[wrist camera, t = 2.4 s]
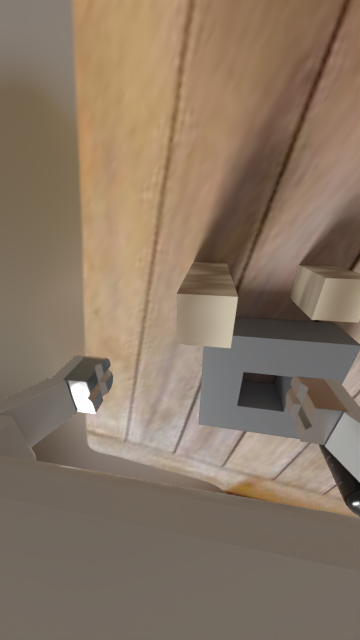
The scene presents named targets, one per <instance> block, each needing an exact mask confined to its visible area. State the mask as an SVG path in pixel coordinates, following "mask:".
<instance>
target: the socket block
mask: <svg viewBox="0 0 360 640" xmlns="http://www.w3.org/2000/svg"><path fill="white" fill-rule="evenodd" d="M359 350H360V344H359V343H358V342H356V341H355V340H354V339H353V338H352V337H350V336H349V335H348V334H347V333H346V332H344V331H343V330H342V329H341V328H340V327H338V326H337V325H336V324H335V323H321V322H305V321H290V320H275V319H260V318H245V317H235V322H234V329H233V336H232V343H231V348H220V347H209V346H204V353H203V367H202V382H201V397H200V411H199V425H206V426H213V427H220V428H227V429H234V430H241V431H248V432H255V433H262V434H268V435H275V436H282V437H289V438H296V439H299V437H298V434H297V432H296V430H295V427H294V422H295V419H294V418H293V417H291V416H290V415H289V413H288V410H287V406H286V395H287V392H288V391H289V390H290V389H292V385H291V380H292V378H293V377H294V376H298V377H309V378H320V379H321V378H324V379H335V380H337V381H339V382H340V384H341V385H342V383H343V381H344V379H345V377H346V376H347V374H348V372H349V370H350V368H351V366H352V364H353V362H354V360H355V358H356V356H357V354H358V352H359ZM243 372H249V373H259V374H268V375H276V377H275V380H274V383H273V384H269V383H260V382H251V381H242V377H243Z"/></svg>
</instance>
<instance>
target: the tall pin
mask: <svg viewBox="0 0 360 640" xmlns="http://www.w3.org/2000/svg"><path fill="white" fill-rule="evenodd" d="M237 301H238V295H237V292H236V289H235V286H234V283H233V280H232V277H231V274H230V271H229V268H228V265H227V263H212V262H193V264H192V266H191V267H190V269H189V271H188V273H187V275H186V277H185V279H184V281H183V283H182V285H181V286H180V288H179V290H178V292H177V344H186V345H198V346H209V347H220V348H231V343H232V336H233V329H234V322H235V315H236V308H237Z"/></svg>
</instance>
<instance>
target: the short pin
mask: <svg viewBox="0 0 360 640" xmlns="http://www.w3.org/2000/svg"><path fill="white" fill-rule="evenodd" d="M290 299H291V300H292V301H293V302H294V303H295V304H296V305H297V306H298V307H299V308H300V309H301V310H302V311H303V312H304V313H305V314H306V315H307V316H308V317H309V318H310V319H311V320H325V321H340V322H356V323H358V322H359V320H360V274H359V273H356V272H353V271H351V270H348V269H345V268H342V267H339V266H320V265H299V266H298V269H297V273H296V277H295V280H294V284H293V288H292V291H291V295H290Z"/></svg>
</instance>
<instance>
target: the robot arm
mask: <svg viewBox="0 0 360 640" xmlns="http://www.w3.org/2000/svg"><path fill="white" fill-rule="evenodd" d="M109 367H110V361H109V359H107V358H100V357H91V356H81V355H77V356H74V357H73V358H72V359H71V360H70V361H69V362H68V363H67V364H66V365H65V366H64V367H63V368H62V369H61V370H60V371H58V372H57V373H56V374H55V375H54V376H53V377H52V378H51V379H48V378H47V379H46V380H43V381H41V382H39V383H36V384H34V385H32V386H30V387H28V388H25V389H23V390H21V391H19V392H17V393H15V394H12V395H10V396H8V397H5V398H3V399H1V400H0V640H360V518H359V517H353V516H347V515H342V514H336V513H330V512H325V511H319V510H313V509H308V508H302V507H296V506H291V505H285V504H279V503H274V502H268V501H262V500H257V499H251V498H245V497H240V496H234V495H228V494H223V493H217V492H211V491H206V490H200V489H194V488H189V487H183V486H177V485H171V484H165V483H160V482H154V481H148V480H143V479H137V478H131V477H126V476H120V475H114V474H109V473H103V472H97V471H91V470H86V469H80V468H74V467H69V466H63V465H57V464H51V463H45V462H40V461H35V460H36V455H35V454H34V452H33V450H32V449H31V447H32V446H34V445H35V444H36V443H37V442H39V441H40V440H41V439H43V438H44V437H45V436H47V435H48V434H49V433H51V432H52V431H53V430H55V429H56V428H57V427H59V426H60V425H61V424H62V423H64V422H65V421H66V420H68V419H69V418H71V417H72V416H73V415H75V414H76V413H77V412H85V413H96V412H97V410H98V408H99V407H100V405H101V403H102V402H103V398H102V396H104V395H105V394H107V393H108V392H109V390H110V388H111V386H112V382H113V375H112V372H111V371H110V370H109V369H108V368H109ZM291 385H292V389H290V390H289V391H288V392H287V395H286V406H287V410H288V413H289V415H290V416H291V417H293V418H294V419H295V422H294V427H295V430H296V432H297V434H298V437H299V439H300V441H302V442H309V443H315V444H321V445H325V447H326V448H327V449H328V450H329V451H330V452H331V453H332V454H333V455H334V456H335V457H336V458H337V459H338V460H339V461H340V463H341V464H342V465H343V466H344V467H345V468H346V469H347V470H348V471H349V472H350V473H351V474H352V475H353V476H354V477H355V478H356V479H357V480H358V481H359V482H360V407H359V406H358V404H357V403H356V402H355V401H354V400H353V398H352V397H351V396H350V395H349V393H348V392H347V391H346V390H345V389H344V387H343V386H342V385H341V384H340V382H339V381H337V380H335V379H324V378H321V379H320V378H309V377H298V376H294V377H293V378H292V380H291Z"/></svg>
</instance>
